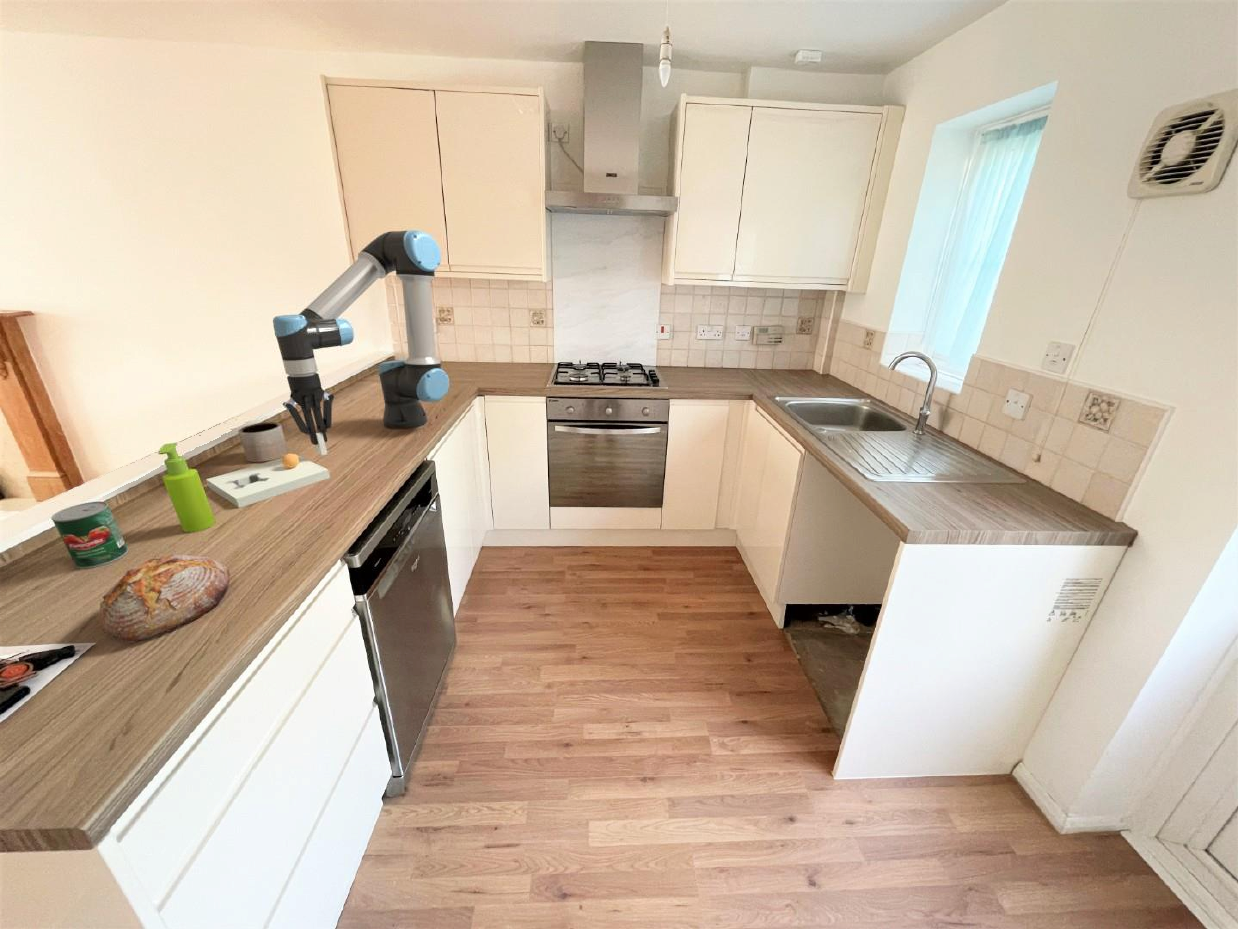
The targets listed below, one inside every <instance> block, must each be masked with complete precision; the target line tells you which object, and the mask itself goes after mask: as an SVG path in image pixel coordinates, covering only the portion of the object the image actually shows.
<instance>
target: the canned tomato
mask: <svg viewBox="0 0 1238 929" xmlns="http://www.w3.org/2000/svg"><path fill="white" fill-rule="evenodd" d="M50 518H51V520H52V522H53V524H54V526H55V528H56V530H57V532H58V533H59V535H60V538H61V540H62V542H63V543H64V545H65V547H66V549H67V552H68V554H69V555H70V556H71V558H70V559H72V561H73V562H74V566H75V567H76V568H77V569H84V570H86V569H94V568H98V567H102V566H105V565H108V564H111V563H113V562H116V561H119V560H120V559H122V558H123V557H125V556H126V555H127V554H128V552H129V548H128V547H127V544H126V541H125V540H124V537H123V535H122V533H121V531H120V528H119V527H118V524H117V522H116V519H115V518H114V515H113V513H112V511H111V509H110V507H109V504H108V502H106V501H90V502H85V503H80V504H75V505H72V506H69V507H66V508H64V509H62V510H61V509H60V510H59V511H57V512H55V513H54V514H52V516H51V517H50Z"/></svg>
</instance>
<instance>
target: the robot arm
mask: <svg viewBox="0 0 1238 929" xmlns="http://www.w3.org/2000/svg"><path fill="white" fill-rule="evenodd" d="M441 261H442V253H441V249H440V246H439V245H438V243H437V241H436V240H435V239H434V238H433V236H432V235H430V234H429V233H427V232H425V231H424V230H423V231H422V230H411V229H410V230H399V231H398V230H396V231H393V230H392V231H387V232H384V233H382V234H380V235H379V236H377V237H376V238H374V239H373V240H372V241H371V242H369V244H367V245H366V246H365V247H364V248H363V249H362V250H361V251H359V253H358V254H357V259H356V261H354V262H353V263H352V264H351V265H350V266H349V267H348V268H347V269H346V270H345V271H344V272H343V273H342V274H340V275H339V277H337V278H336V279H335V280H334V281H333V282H332V283H331V284H330V285H329V286H328V287H327V288H326V289H324V290H323V291H322V293H320V294H319V295H318V296H317V297H316V298H315V299H313V301H311V303H309V304H308V305H307V306H306V307H305V308H304V309H303V310H301V312H299V313H298V314H283V315H282V314H281V315H277V316H274V317H273V320H272V323H273V330H274V336H275V337H276V340H277V344H278V348H279V351H280V356H281V359H282V364H283V368H284V371H285V374H286V375H287V376H286V378H287V382H288V386H289V390H290V395H289V397H290V398H289V399H288V400H287V401H284V402H283V403H282V406H283V407H284V408H285V409H286V410H288V412H289V414H290V416H291V417H292V418H293V420H294V422H295V424H296V425H297V428H298V430H299V431H300V433H303V434H305V435H309V438H310V442H311V444H312V445H313V446H315V447H316V452H317V454H318V455H321V456H325V455H328V450H327V446H326V443H327V442H328V437H327V434H326V433H327V432H328V429H331V428H332V416H333V415H332V411H333V410H332V409H333V406H332V405H333V401H334V398H335V395H333V394H331V393H327V392H325V390H324V389H323V387H322V383H321V379H320V374H319V373H318V366H317V362H316V357H315V354H314V350H319V349H328V348H335V347H342V346H346V345H350V344H351V343H353V341H354V339H355V333H354V328H353V325H352V323H350V321H349V320H347V319H346V318H339V317H340V316H341V315H342V314H343V313H345V311H347V309H348V308H349V307H350V306H351V305H352V304H353V303H354V302H356V300H358V299H359V298H360V296H362V295H363V294H364V293H365V292H366V291H367V290H368V289H369V288H370V287H371V286H372V285H373V284H374V283H375V282H376V281H377V280H378V279H380V280H381V279H384V278H385V277H386V276H388V274H390V273H392V272H395V276H396V277H397V278H398V280H400V281H401V284H402V295H403V296H402V298H403V307H404V316H405V320H404V321H405V327H406V328H405V330H406V340H407V341H406V342H407V352H408V353H407V354H408V357H407V358H404V359H397V360H396V359H395V360H391V361H385V362H381V363H379V365H378V376H379V380H380V384H381V385H380V386H381V390H382V396H383V400H384V408H383V409H384V411H383V415H382V416H383V417H382V422H383V426H384V427H385V428H386V429H390V430H406V429H413V428H417V427H420V426H423V425H425V424H426V423H427V422H428V415H427V413H426V411H425V409H424V406H422V404H421V402H424V403H428V402H429V403H435V402H438V401H440V400H442V399H443V398H444V397H445V395H447V393H448V391H449V389H450V379H449V376H448V374H447V373H446V371H444V370H443V369H442V362H441V360H439V359H438V358H437V355H436V342H435V341H436V340H435V331H434V330H435V329H434V328H435V327H434V315H433V302H432V289H431V283H432V281H433V280H435V277H436V275H435V270H437V269H438V268H439V266H440V264H441ZM322 400H323V404H322V406H321V402H322ZM420 401H421V402H420ZM295 403H296V404H295ZM296 405H298V406H299V407H300V409H301V411H302V413H303V418H304V420H303V418H302V416H301V414H300V412H299V411H298V409H297V408H296ZM312 413H313V414H312ZM424 423H425V424H424Z"/></svg>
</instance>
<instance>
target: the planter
mask: <svg viewBox="0 0 1238 929" xmlns="http://www.w3.org/2000/svg"><path fill="white" fill-rule="evenodd" d="M237 432H238V434H239V439H240V440H241V444H242V448H243V450H244V455H245V458H246V460H247V461H248V462H251V463H258V464H259V463H266V462H269V461H273V460H276V459H280V458H283V456H284V455H286V454H289V452H290V451H289V448H288V443H287V441H286V438H285V435H284V430H283V428H282V425H281V423H279V422H275V421H274V422H273V421H269V422H268V421H266V422H258V423H253V424H248V425H245V426H243V427H241V428H240V429H238V430H237Z"/></svg>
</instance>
